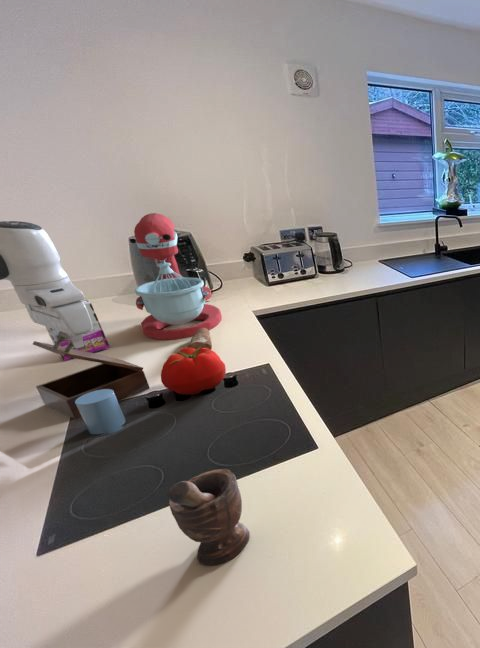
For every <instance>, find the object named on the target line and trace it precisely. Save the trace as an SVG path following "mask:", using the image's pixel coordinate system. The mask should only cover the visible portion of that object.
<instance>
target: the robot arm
mask: <svg viewBox="0 0 480 648" xmlns="http://www.w3.org/2000/svg"><path fill="white" fill-rule="evenodd" d="M4 280H6V281H8V282H10V283H11V285H12V287H13V290H14V291H15V293H16V295H17V297H18V300H19V301H20V303H21V304H22V305H24V307H25V308H26V311H27V313H28V315H29V318H30V319H31V320H32V322H33V323H34V324H37V325H41V326H43V327H45V326H46V327H47V329H48V330H49V331H50V332H51V333H52V335H53V336H54V337H55V339H56V341H57V340H58V338H59V334H58V333H59V332H60V331H61V332H64V333H67V335H68V336H69V337H70V340H71V341H70V343H71V345H72V347H74V348H80V347H83V346H84V342H83V340H82V339H83V334H85V333H88V332H91V331H92V328H93V326H92V322H91V319H90V316H89V313H88V310H87V308H86V306H85V304H84V303H83V302H82V301H84V300H86V297H85V295H84V292H83V291H82V290H80V289H79V288H78V287H77V286H75V285H74V283H73V282H72V281H71V279H70V276H69V275H68V273H67V272H66V271H65V269H64V268H63V267H62V263H61V256H60V254H59V252H58V249H57V248H56V246H55V244H54V242H53V240H52V239H51V237H50V235H49V234H48V232H47V231H46V230H45V229H44V228H42V226H40V225H38V224H35V223H32V222H29V221H18V220H17V221H16V220H7V221H6V220H4V221H2V220H1V221H0V281H4ZM46 327H45V328H46ZM47 329H46V330H47ZM68 340H69V339H67V338H64V339H63V341H62V342H65V341H68Z"/></svg>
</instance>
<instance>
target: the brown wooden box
mask: <svg viewBox="0 0 480 648" xmlns="http://www.w3.org/2000/svg"><path fill="white" fill-rule="evenodd" d="M35 389H36V390H37V392H38V394H39V396H40V398H41V400H42V403H43V404H44V405H45V406H46V407H49V408H50V409H53V410H55V411H57V412H58V413H61V414H63V415H64V416H67V417H69V418H71V419H73V420H78V419H81V418H82V416H81V414H80V412H79V410H78V408H77V406H76V404H75V401H76V399H78V398H79V397H80V396H82V395H84V394H87V393H89V392H93V391H96V390H102V389H111V390H113V391H114V393H115V396H116V398H117V400H118V402H121V401H123V400H125V399H128V398H130V397H132V396H135V395H137V394H140V393H142V392H145V391H147V390H149V389H151V388H150V385H149V382H148V379H147V376H146V374H145V371H144V370H142V371H141V370H136V369H130V368H125V367H119V366H114V365H108V364H103V363H98V364H96V365H94V366H91V367H87V368H85V369H82V370H79V371H76V372H73V373H70V374H67V375H64V376H62V377H59V378H55V379H53V380H50V381H47V382H45V383H41V384H39V385H36V386H35Z"/></svg>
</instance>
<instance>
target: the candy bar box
mask: <svg viewBox="0 0 480 648" xmlns="http://www.w3.org/2000/svg"><path fill="white" fill-rule="evenodd" d="M81 301H82V302H83V303H84V304H85V306H86V308H87V310H88V313H89V316H90V319H91V322H92V326H93V328H92V331H91V332H88V333H85V334H83V339H82V340H83V342H84V346H83V347H80V348H74V347H72V348H71V349H76V350H81V351H86V352H91V353H98V352H102V351H105V350H109V349H110V348H111V346H110V344H109V342H108V339H107V337H106V334H105V333H104V330H103V328H102V325H101V323H100V321H99V318H98V315H97V314H96V312H95V309H94V306H93V304H92V302H91V301H89V300H87V299H85V300H81ZM44 327H45V329H46V331H47V333H48V335H49V337H50V339H51V341H52V345H55V343H56V342H57V341H56V339H55V337H54V336H53V335H52V333H51V332H50V331H49V330H48V329H47V327H46V326H44ZM69 341H70V339H69V340H68V341H65V342H61V344H60V346H61V347H67V345H68V343H69ZM58 356H59V357H60V358H61V360H62V361H63V362H65V361H69V360H74V359H75V358H70V357H65V356H62V355H59V354H58Z"/></svg>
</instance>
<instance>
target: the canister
mask: <svg viewBox="0 0 480 648" xmlns="http://www.w3.org/2000/svg"><path fill="white" fill-rule="evenodd" d="M75 404H76V406H77V408H78V410H79V412H80V414H81V416H82V417H81V418H82V421H83V423H84V425H85V427H86V429H87V431H88V433H89V434H91V435H100V436H98V437H99V438H101V437H106V436H109V435H112V434H115V433H117V432H119V431H121V430H123V428H125V427H126V426H127V423H126V421H127V419H126V417H125V415H124V413H123V410H122V408H121V405H120V403H119V401H118V400H117V398H116V396H115V393H114V391H113V390H111V389H102V390H96V391H93V392H89V393H87V394H84V395H82V396H80V397H79V398H78V399H76V401H75Z"/></svg>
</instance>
